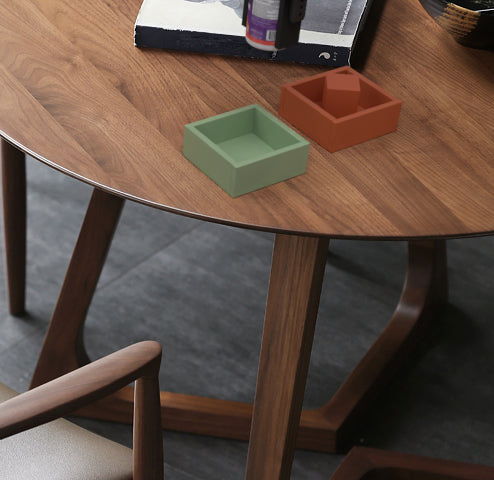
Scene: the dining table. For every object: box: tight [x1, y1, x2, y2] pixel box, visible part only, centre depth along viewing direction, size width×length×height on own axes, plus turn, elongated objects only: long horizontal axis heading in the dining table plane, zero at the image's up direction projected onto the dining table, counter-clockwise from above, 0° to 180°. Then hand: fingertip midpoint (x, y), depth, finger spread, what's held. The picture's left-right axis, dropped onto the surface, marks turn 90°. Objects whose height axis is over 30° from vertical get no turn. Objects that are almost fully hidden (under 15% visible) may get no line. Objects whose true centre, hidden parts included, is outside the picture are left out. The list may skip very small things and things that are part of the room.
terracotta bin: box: [277, 65, 403, 154], centre depth 135 cm, size 11×11×4 cm
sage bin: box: [182, 102, 311, 199], centre depth 128 cm, size 11×11×4 cm
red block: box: [321, 73, 360, 119], centre depth 134 cm, size 4×4×5 cm
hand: (269, 34), depth 119 cm, fingers closed on pill bottle, 5 cm apart
